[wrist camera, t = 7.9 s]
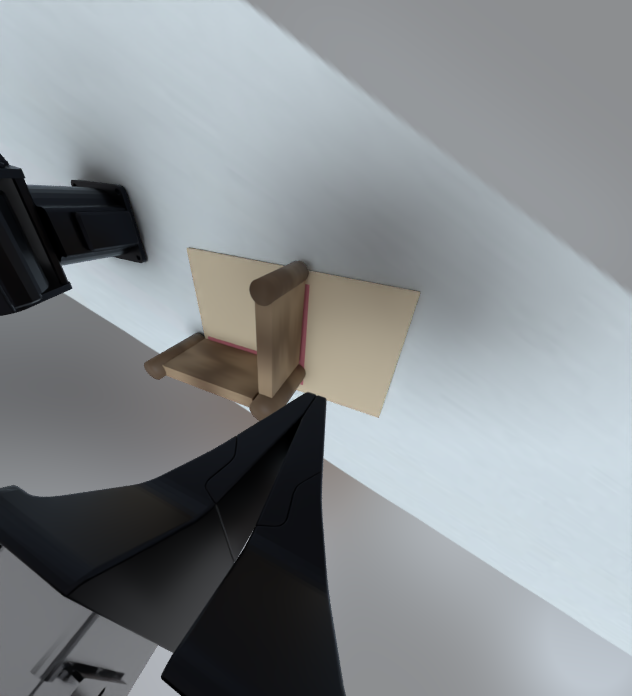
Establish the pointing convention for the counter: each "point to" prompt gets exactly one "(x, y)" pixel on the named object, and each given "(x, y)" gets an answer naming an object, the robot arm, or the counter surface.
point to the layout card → (314, 325)
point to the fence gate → (278, 324)
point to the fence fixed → (222, 373)
